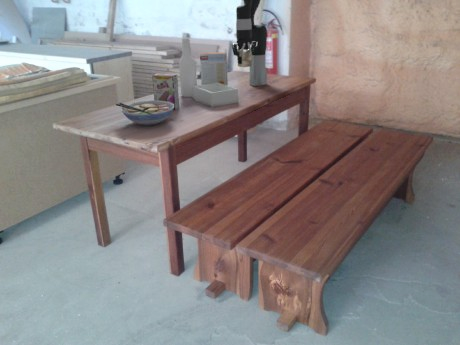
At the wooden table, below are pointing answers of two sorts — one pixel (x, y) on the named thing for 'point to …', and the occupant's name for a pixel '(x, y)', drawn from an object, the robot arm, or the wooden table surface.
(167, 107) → the ramen bowl
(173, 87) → the candy bar box
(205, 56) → the cracker box
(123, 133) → the wooden table surface
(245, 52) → the birch block
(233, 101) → the bin
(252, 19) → the robot arm
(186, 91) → the alcohol
